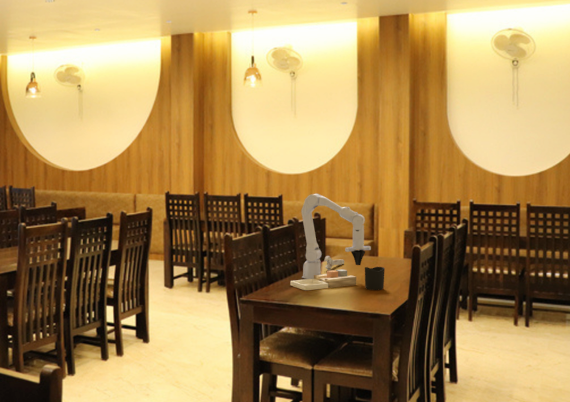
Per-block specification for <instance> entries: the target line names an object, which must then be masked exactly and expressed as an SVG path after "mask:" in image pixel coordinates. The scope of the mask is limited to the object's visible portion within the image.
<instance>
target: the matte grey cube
mask: <svg viewBox="0 0 570 402" xmlns="http://www.w3.org/2000/svg"><path fill="white" fill-rule="evenodd" d="M335 271H338V277H342V276H348V270H347V269H343V268H342V269H336V270H335Z"/></svg>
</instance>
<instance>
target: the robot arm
mask: <svg viewBox="0 0 570 402" xmlns="http://www.w3.org/2000/svg"><path fill="white" fill-rule="evenodd" d="M318 206H321V207H323V206H324V207H327V208H328V209H331V210H332V211H335V212H336V213H338V214H339V217H341V218H342V219H344V220H346V221H348V222H349V223H351V224H352V246H348V247H345V250H344V251H345V252H346V253H349V252H351V255H352V257H353V259H354V263H355V266H361V263H362V260H363V258H364V256H365V253H366V251H371V250H372V246H370V245H365V225H364V224H365V222H366V218H365V216H364V215H363V214H362V213H358V211H354V210H352V209H351V207H350V206H341V205H339V204H337V203H336V202H334V201H332V200H331V199H329V198H328V197H325V196H324V195H321V194H320V193H312V194H309V195H308V196H307V197H306V198H305V199H304V202H303V204H302V208H301V211H300V212H301V217H302V223H303V228H304V229H303V231H304V234H305V235H304V236H305V240H306V241H305V242H306V247H305V249H306V251H305V259H306V261H305V262H304V263H303V266H302V268H303V270H302V271H303V272H302V276H301V278H302V279H304V280H305V279H314V275H320V274H321V258H322V254H323V253H322V251H321V249H320V248H319V247H320V246H319V244H318V242H317V238H316V237H317V236H316V232H315V230H316V229H315V224H314V220H313V214H312V213H313V212H314V211H315V209H316V208H317V207H318Z"/></svg>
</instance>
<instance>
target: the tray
mask: <svg viewBox="0 0 570 402" xmlns="http://www.w3.org/2000/svg"><path fill="white" fill-rule="evenodd" d="M290 286H291V287H293V288H297V289H300V290H303V291H312V290H313V291H314V290H320V289H323V290H324V289H328V283H326V282H322V281H319V280H316V279H305V278H304V279H298V280H290Z"/></svg>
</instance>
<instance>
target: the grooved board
mask: <svg viewBox="0 0 570 402" xmlns="http://www.w3.org/2000/svg"><path fill="white" fill-rule="evenodd" d="M314 279H316V280H319V281H322V282H326V283H328V288H329V289H330V288H331V289H332V288H340V287H347V286H348V287H349V286H357V276H354V275H347V276H342V277H332V278H327V273H325V274H324V273H323V274H321V273H320V275H314ZM328 288H327V289H328Z"/></svg>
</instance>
